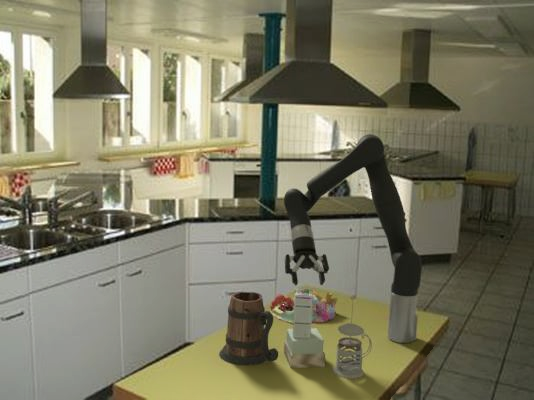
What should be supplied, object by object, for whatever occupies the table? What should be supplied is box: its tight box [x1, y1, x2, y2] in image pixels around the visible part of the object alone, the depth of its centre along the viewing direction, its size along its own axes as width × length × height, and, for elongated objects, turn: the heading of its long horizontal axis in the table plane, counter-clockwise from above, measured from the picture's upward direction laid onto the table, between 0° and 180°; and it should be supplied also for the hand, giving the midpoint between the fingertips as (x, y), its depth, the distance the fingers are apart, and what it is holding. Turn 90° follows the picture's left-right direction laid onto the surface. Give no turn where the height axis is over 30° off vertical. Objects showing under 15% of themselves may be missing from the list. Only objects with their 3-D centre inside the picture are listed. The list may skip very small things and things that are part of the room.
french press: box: [332, 293, 373, 379], centre depth 179 cm, size 10×12×25 cm
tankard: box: [218, 291, 279, 367], centre depth 187 cm, size 24×17×20 cm
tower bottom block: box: [283, 341, 326, 369], centre depth 188 cm, size 11×11×4 cm
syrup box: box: [292, 288, 314, 339], centre depth 185 cm, size 6×6×14 cm
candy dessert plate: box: [269, 290, 338, 325], centre depth 229 cm, size 25×24×9 cm
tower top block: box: [285, 327, 324, 355], centre depth 187 cm, size 10×10×4 cm
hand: (309, 284), depth 187 cm, fingers open, 8 cm apart
